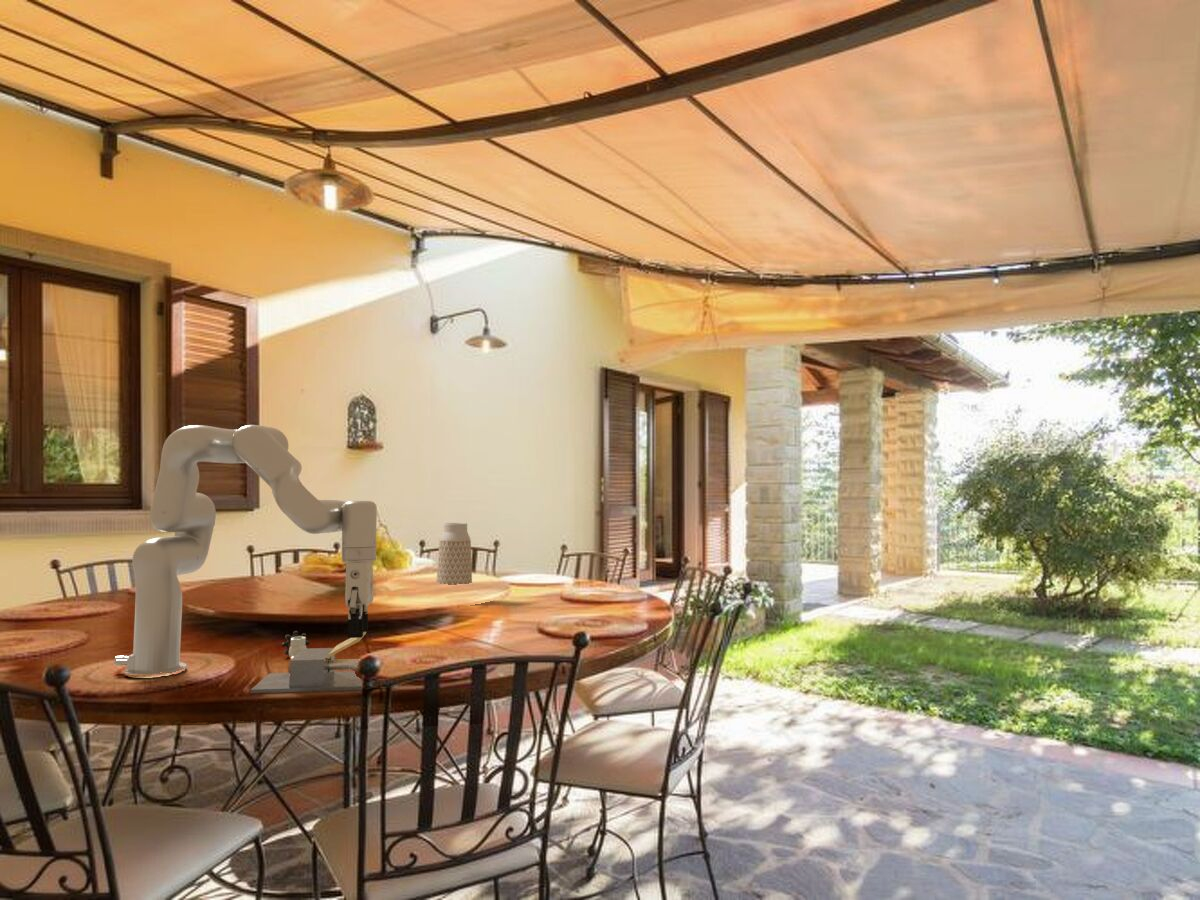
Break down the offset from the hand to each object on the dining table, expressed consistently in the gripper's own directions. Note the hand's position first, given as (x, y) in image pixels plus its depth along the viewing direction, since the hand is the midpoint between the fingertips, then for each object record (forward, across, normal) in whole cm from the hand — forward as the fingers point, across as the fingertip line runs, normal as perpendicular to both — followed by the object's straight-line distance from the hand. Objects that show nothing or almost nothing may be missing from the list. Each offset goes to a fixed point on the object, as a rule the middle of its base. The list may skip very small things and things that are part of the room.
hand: (357, 633), depth 166 cm
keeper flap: (+3, 0, +2) cm, 4 cm away
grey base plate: (+11, 0, +10) cm, 14 cm away
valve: (+11, +23, +18) cm, 32 cm away
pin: (+9, 0, +7) cm, 12 cm away
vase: (+11, +120, -17) cm, 122 cm away
